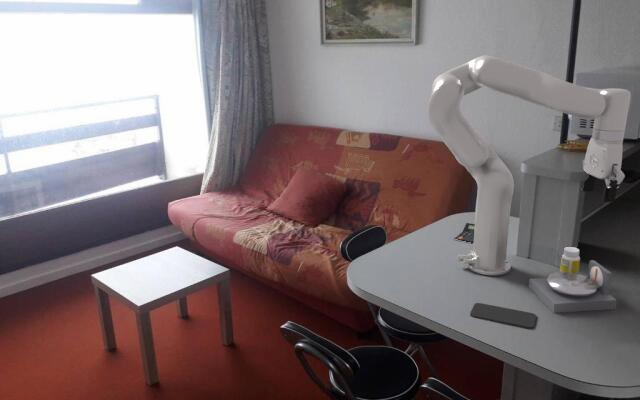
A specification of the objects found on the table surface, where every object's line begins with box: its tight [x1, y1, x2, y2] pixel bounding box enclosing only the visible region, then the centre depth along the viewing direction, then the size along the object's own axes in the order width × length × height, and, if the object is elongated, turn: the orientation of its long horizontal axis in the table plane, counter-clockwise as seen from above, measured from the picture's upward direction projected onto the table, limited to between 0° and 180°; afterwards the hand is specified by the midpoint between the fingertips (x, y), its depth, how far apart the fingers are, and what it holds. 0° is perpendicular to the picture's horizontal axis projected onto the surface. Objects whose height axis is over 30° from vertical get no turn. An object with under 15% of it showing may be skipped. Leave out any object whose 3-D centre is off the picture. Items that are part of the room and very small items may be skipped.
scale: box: [528, 259, 617, 314], centre depth 138 cm, size 16×14×8 cm
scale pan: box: [546, 271, 598, 296], centre depth 138 cm, size 12×12×1 cm
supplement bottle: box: [559, 246, 581, 274], centre depth 150 cm, size 5×5×8 cm
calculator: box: [454, 222, 475, 244], centre depth 181 cm, size 9×12×3 cm
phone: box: [469, 302, 537, 330], centre depth 132 cm, size 7×1×15 cm
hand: (597, 196), depth 147 cm, fingers open, 9 cm apart
